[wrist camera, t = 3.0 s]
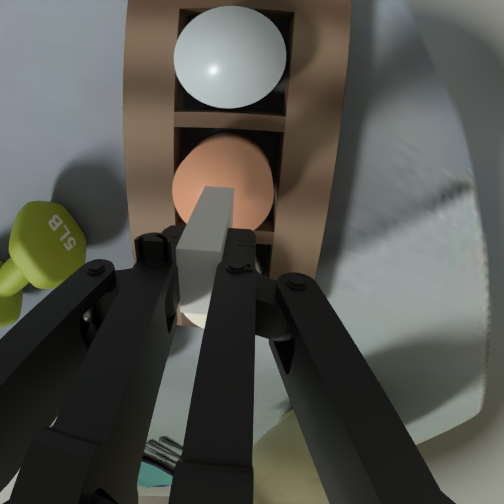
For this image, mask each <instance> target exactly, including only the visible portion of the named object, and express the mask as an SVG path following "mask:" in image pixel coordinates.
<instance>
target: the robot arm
mask: <svg viewBox="0 0 504 504" xmlns="http://www.w3.org/2000/svg"><path fill="white" fill-rule="evenodd" d="M233 204H234V188H230V187H212V186H205V187H204V189H203V191H202V193H201V195H200V197H199V199H198V202H197V204H196V206H195V208H194V210H193V212H192V214H191V216H190V218H189V221H188V223H187V225H186V226H176V225H170V226H169V227H167V228H166V229H164V230H163V231H162V233H159V232H152V233H146V234H142V235H140V236H138V237H137V238H136V239H135V240H134V244H135V252H136V260H137V261H136V263H135V265H134V266H133V268H131V269H125V270H116V271H115V268H114V265H113V263H112V262H110V261H108V260H103V259H98V260H97V259H96V260H93V261H90V262H87V263H86V264H84V265H82V266H81V267H80V268H79V269H78V270H76V271H75V272H74V273H73V274H72V275H70V276H69V277H68V278H67V279H66V280H65V281H63V282H62V283H61V284H60V285H59V286H58V287H56V288H55V289H54V290H53V291H52V292H51V293H50V294H49V295H47V296H46V297H45V298H44V299H43V300H42V301H41V302H40V303H38V304H37V305H36V306H35V307H34V308H33V309H32V310H31V311H30V312H29V313H27V314H26V315H25V316H24V317H23V318H22V319H21V320H20V321H19V322H18V323H17V324H16V325H15V326H14V327H13V328H12V329H11V330H9V331H8V332H7V333H6V334H5V335H4V336H3V337H2V338H1V339H0V492H1V491H2V490H3V489H4V487H6V486H7V485H8V484H9V482H10V481H11V480H12V478H13V477H14V476H15V475H16V473H17V472H18V470H19V469H20V471H19V473H18V476H17V479H16V482H15V485H14V488H13V490H12V493H11V496H10V499H9V500H8V501H7V502H5V503H3V504H138V492H137V481H138V476H139V471H140V467H141V462H142V458H143V453H144V449H145V444H146V440H147V436H148V432H149V427H150V423H151V419H152V415H153V411H154V407H155V403H156V399H157V395H158V391H159V387H160V384H161V380H162V376H163V372H164V368H165V365H166V361H167V357H168V354H169V350H170V346H171V343H172V339H173V336H174V332H175V328H176V325H177V308H178V305H180V312H182V313H192V314H204V315H207V318H206V323H205V328H204V334H203V339H202V344H201V349H200V354H199V360H198V365H197V370H196V376H195V381H194V387H193V392H192V398H191V404H190V409H189V415H188V421H187V427H186V433H185V438H184V445H183V450H182V455H181V458H180V459H179V460H178V461H177V463H176V465H175V469H174V473H173V478H172V484H171V491H170V497H169V504H253V493H254V470H253V464H252V452H253V409H254V363H255V335H258V336H261V337H264V338H268V339H269V345H270V348H271V351H272V353H273V356H274V359H275V361H276V364H277V367H278V369H279V372H280V375H281V378H282V380H283V383H284V386H285V388H286V391H287V394H288V396H289V399H290V402H291V404H292V407H293V410H294V412H295V415H296V418H297V420H298V423H299V426H300V428H301V431H302V434H303V436H304V439H305V441H306V444H307V447H308V449H309V452H310V455H311V457H312V460H313V462H314V465H315V468H316V470H317V473H318V475H319V478H320V481H321V483H322V486H323V488H324V491H325V493H326V496H327V499H328V501H329V504H456V503H454V502H453V501H452V500H451V499H450V498H449V497H447V496H446V495H445V494H444V493H443V492H442V491H441V490H440V488H439V487H438V485H437V483H436V481H435V479H434V478H433V476H432V474H431V472H430V470H429V468H428V467H427V465H426V463H425V461H424V459H423V458H422V456H421V454H420V452H419V451H418V449H417V447H416V445H415V443H414V442H413V440H412V438H411V436H410V435H409V433H408V431H407V429H406V428H405V426H404V424H403V422H402V421H401V419H400V417H399V416H398V414H397V412H396V411H395V409H394V407H393V405H392V404H391V402H390V400H389V399H388V397H387V395H386V394H385V392H384V390H383V389H382V387H381V385H380V384H379V382H378V380H377V379H376V377H375V375H374V374H373V372H372V370H371V369H370V367H369V365H368V364H367V362H366V361H365V359H364V357H363V356H362V354H361V352H360V351H359V349H358V348H357V346H356V344H355V343H354V341H353V339H352V338H351V336H350V335H349V333H348V331H347V330H346V328H345V327H344V325H343V323H342V322H341V320H340V319H339V317H338V316H337V314H336V312H335V311H334V309H333V308H332V306H331V305H330V303H329V301H328V300H327V298H326V297H325V295H324V294H323V292H322V291H321V289H320V287H319V286H318V284H317V283H316V281H315V280H314V279H313V278H311V277H309V276H308V275H306V274H302V273H298V272H290V273H285V274H283V275H281V276H279V278H278V279H277V281H276V280H272V279H269V278H266V277H265V276H263V275H261V274H260V273H259V272H258V271H257V269H256V266H255V263H256V234H255V233H254V232H253V231H252V230H251V229H239V228H232V225H233ZM88 310H89V314H90V317H89V318H88V319H87V320H85V319H84V316H83V315H84V314H85V313H86V312H87V311H88ZM58 414H59V415H58ZM57 416H58V417H57ZM56 417H57V419H56ZM55 419H56V422H55V423H54V425H53V426H52V427H50V425H51V424H52V423H53V421H54V420H55ZM49 427H50V428H49Z"/></svg>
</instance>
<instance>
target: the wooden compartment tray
mask: <svg viewBox="0 0 504 504" xmlns="http://www.w3.org/2000/svg"><path fill="white" fill-rule="evenodd" d="M223 6H241V7H246V8H249V9H252V10H255V11H257V12H259V13H261V14H262V15H264V16H265V17H267V18H269V19H280V20H290V29H289V42H288V54H287V66H286V78H285V90H284V101H283V113H282V112H270V111H257V110H241V109H217V108H184V94H185V88H184V87H183V86H182V84H181V83H180V81H179V79H178V77H177V74H176V71H175V66H174V51H175V46H176V43H177V40H178V38H179V36H180V34H181V33H182V31H183V30H184V28H185V27H186V26H187V25H188V23H189V17H197V16H198V15H200V14H202V13H204V12H206V11H208V10H211V9H214V8H217V7H223ZM351 13H352V1H349V0H128V7H127V18H126V31H125V47H124V71H123V132H124V157H125V175H126V189H127V201H128V212H129V222H130V231H131V240H132V248H133V256H134V263H136V261H137V260H136V252H135V244H134V240H135V239H136V238H137V237H138V236H140V235H142V234H146V233H152V232H159V233H162V231H163V230H164V229H166V228H167V227H169V226H170V225H176V226H186V225H187V224H186V223H185V222H184V220H183V219H182V218H181V216H180V215H179V213H178V211H177V210H176V207H175V204H174V201H173V195H172V185H173V179H174V176H175V173H176V171H177V169H178V167H179V166H180V164H181V163H182V161H183V133H184V127H204V128H231V129H249V130H263V131H276V132H281V135H280V146H279V156H278V167H277V177H276V187H275V197H274V207H273V215H268V216H267V217H266V219H265V220H264V221H263V222H262V223H261V225H259V226H258V227H257V228H256V229H255V230H253V232H254V233H255V234H256V244H270V246H269V255H268V264H267V274H266V278H269V279H272V280H276V281H277V279H278V278H279V276H281V275H283V274H285V273H290V272H298V273H302V274H306V275H308V276H309V277H311V278H313V279H314V280H315V276H316V271H317V266H318V261H319V256H320V250H321V245H322V240H323V234H324V229H325V223H326V218H327V212H328V206H329V200H330V194H331V188H332V182H333V176H334V169H335V162H336V155H337V148H338V141H339V134H340V126H341V118H342V110H343V102H344V93H345V84H346V74H347V64H348V53H349V41H350V28H351ZM177 325H182V326H192V327H199V326H197V325H195V324H194V323H193V322H191V321H190V320H189V319H188V318H187V317H186V316H185V315H184V313H182V312H180V305H178V308H177Z"/></svg>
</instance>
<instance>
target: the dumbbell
mask: <svg viewBox="0 0 504 504" xmlns="http://www.w3.org/2000/svg"><path fill="white" fill-rule="evenodd" d="M9 254H10V256H11V257H10V258H9V259H8V260H7V261H6V262H3V261H0V328H1V327H5V326H7V325H10V324H12V323H14V322H15V321H16V320H18V318H19V316H20V313H21V307H22V299H23V288H24V287H25V286H26V285H27V284H28V283H29V282H30V283H31V284H32V285H33V286H35V287H36V288H40V289H51V288H56V287H58V286H59V285H60V284H61V283H62V282H63V281H65V280H66V279H67V278H68V277H69V276H70V275H72V274H73V273H74V272H75V271H76V270H78V269H79V268H80V267H81V266H82V265H84V264H85V259H86V238H85V235H84V233H83V231H82V229H81V228H80V227H79V225H78V224H77V222H76V221H75V220H74V218H73V217H72V216H71V214H70V213H69V212H68V210H67V209H66V208H65V207H64V206H62V205H61V204H59V203H54V202H46V201H32V202H29V203H27V204H26V205H25V206H24V207H23V208H22V209H21V210H20V211H19V213H18V214H17V216H16V218H15V221H14V224H13V227H12V231H11V235H10V241H9Z"/></svg>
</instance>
